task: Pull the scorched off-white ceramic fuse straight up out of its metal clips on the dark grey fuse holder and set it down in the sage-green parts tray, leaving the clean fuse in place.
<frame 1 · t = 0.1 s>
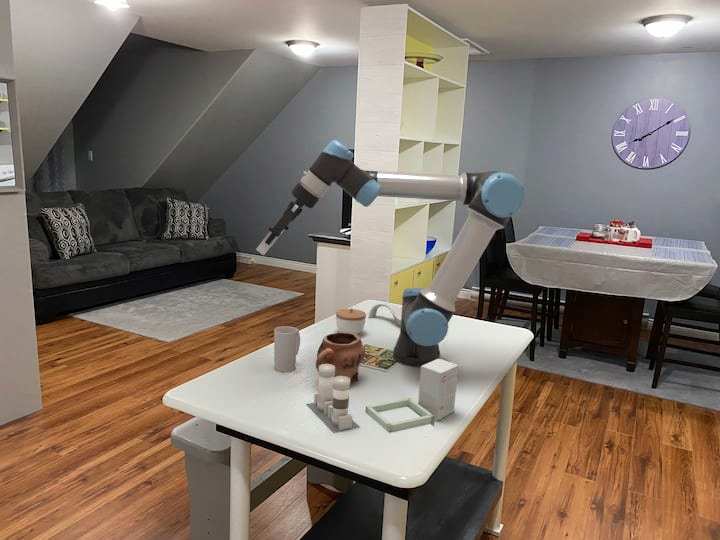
hand: (263, 248, 162), 36 cm above the table, tool tilted 35°, fingers open, 13 cm apart
lidded jar: (349, 334, 203), on the table
fuse holder: (331, 420, 138), on the table
grey curved piece: (396, 324, 219), on the table
small box: (435, 413, 146), on the table
decorative planter: (337, 385, 160), on the table
parts tray: (399, 422, 139), on the table
blown fuse: (339, 422, 134), point 1 cm above the table, touching fuse holder
mug: (288, 367, 170), on the table
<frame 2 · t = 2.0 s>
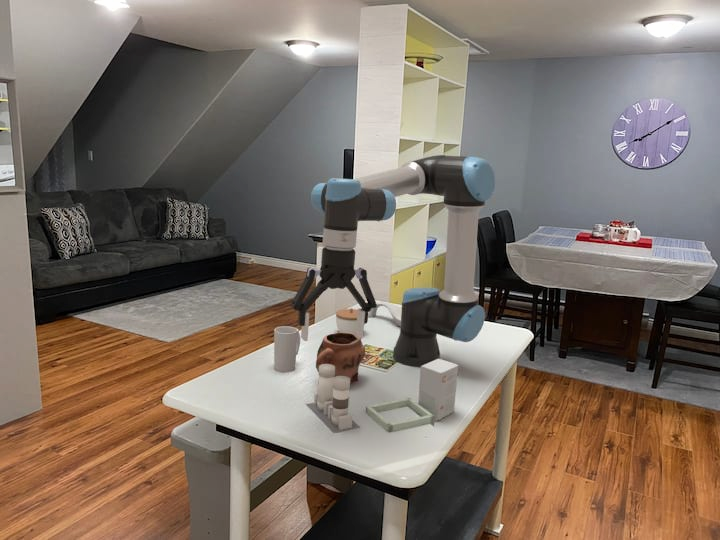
hand: (332, 338, 132), 22 cm above the table, tool pointing down, fingers open, 13 cm apart
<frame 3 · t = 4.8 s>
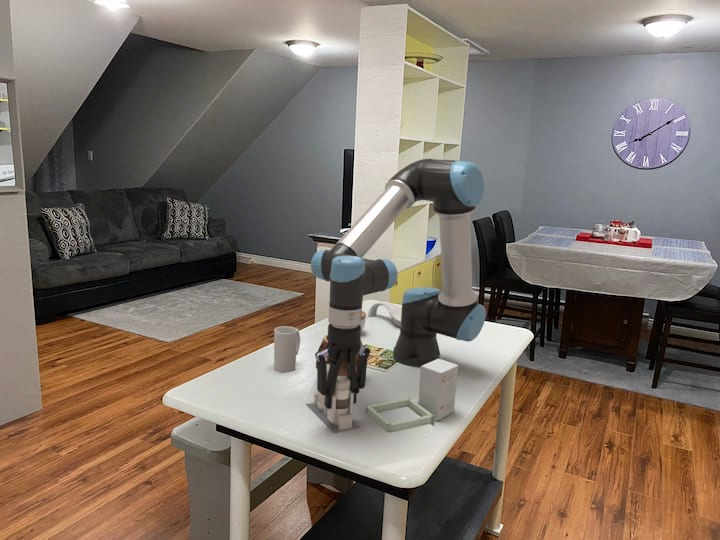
hand: (339, 418, 134), 3 cm above the table, tool pointing down, fingers closed on blown fuse, 4 cm apart
blown fuse: (339, 422, 134), point 1 cm above the table, touching fuse holder, gripper
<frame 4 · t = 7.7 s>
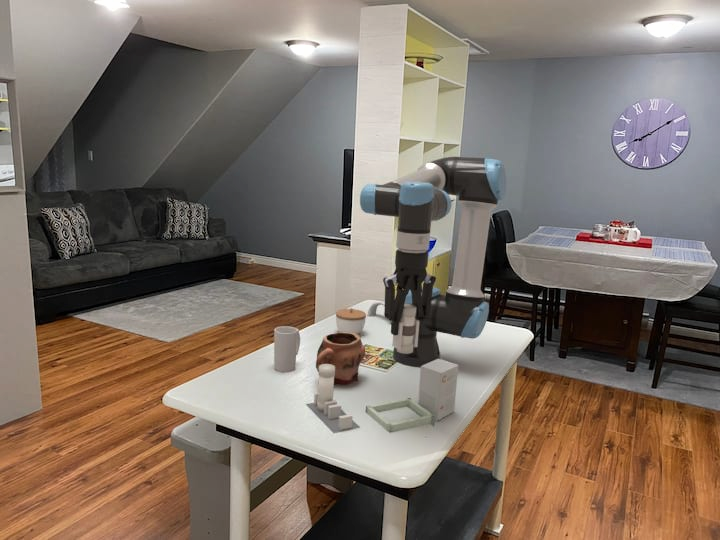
hand: (404, 346, 135), 20 cm above the table, tool pointing down, fingers closed on blown fuse, 4 cm apart
blown fuse: (404, 350, 135), point 19 cm above the table, touching gripper
when the fingers open (3 cm above the table, at t = 10.8 s): blown fuse drops 1 cm, resting on parts tray.
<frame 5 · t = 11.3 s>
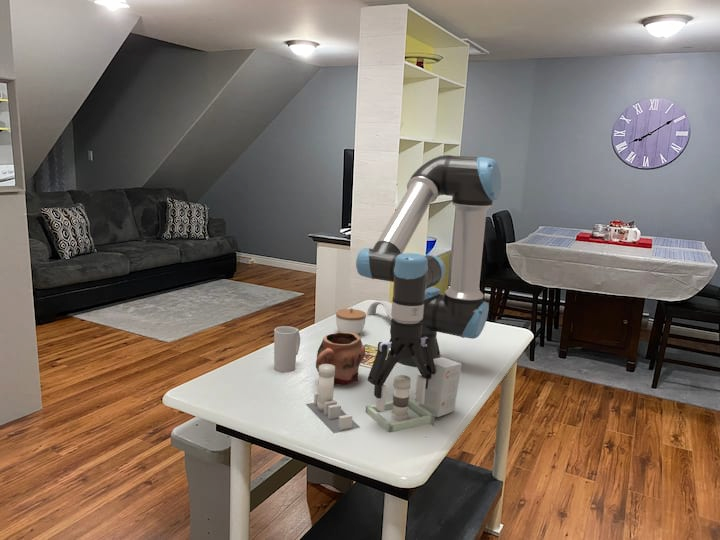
hand: (400, 405, 138), 4 cm above the table, tool pointing down, fingers open, 11 cm apart
small box: (435, 411, 146), on the table, touching hand
blown fuse: (399, 420, 139), point 1 cm above the table, touching parts tray
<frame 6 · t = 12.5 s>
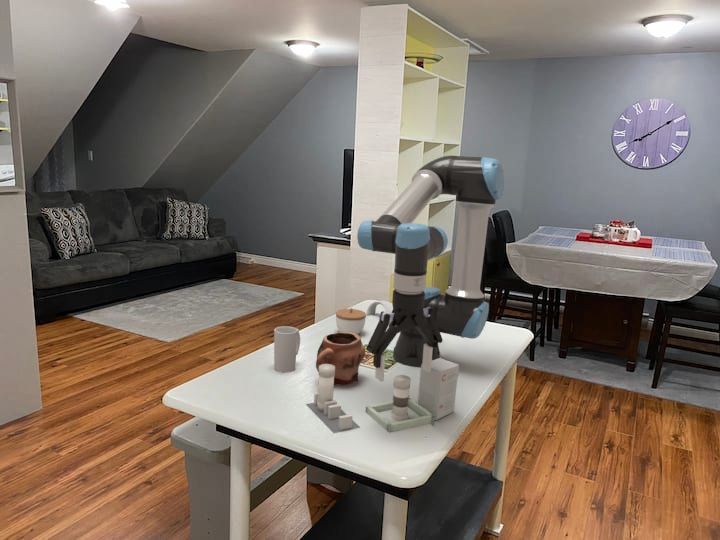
hand: (403, 374, 137), 12 cm above the table, tool pointing down, fingers open, 13 cm apart
small box: (435, 412, 146), on the table
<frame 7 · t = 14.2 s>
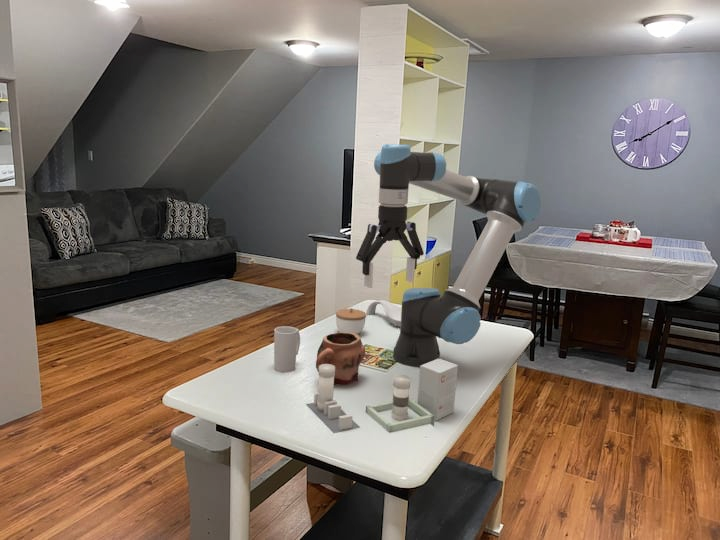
hand: (389, 284, 152), 30 cm above the table, tool pointing down, fingers open, 13 cm apart
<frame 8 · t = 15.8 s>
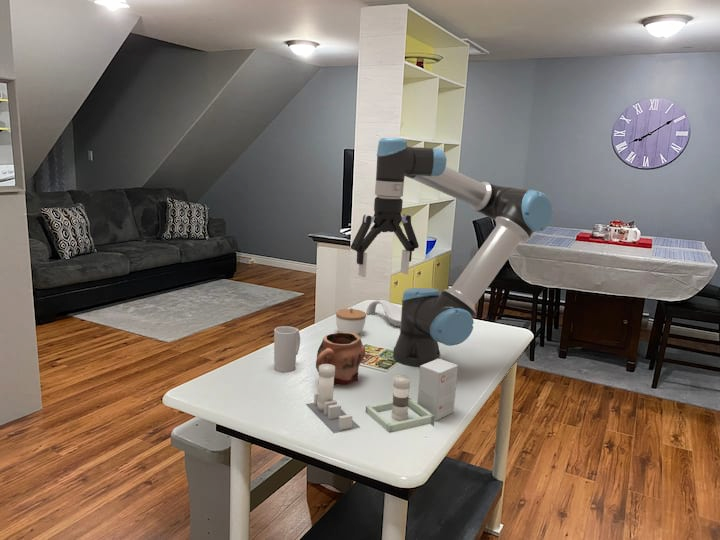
hand: (383, 274, 156), 32 cm above the table, tool pointing down, fingers open, 13 cm apart
at the end: blown fuse inside the target area on the parts tray (0.0 cm from its centre), point 0.6 cm above the parts tray's base; the gripper is holding nothing; blown fuse moved 15.3 cm from its start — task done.
